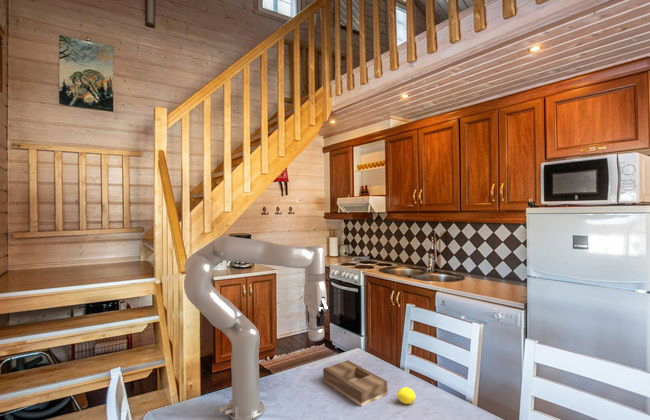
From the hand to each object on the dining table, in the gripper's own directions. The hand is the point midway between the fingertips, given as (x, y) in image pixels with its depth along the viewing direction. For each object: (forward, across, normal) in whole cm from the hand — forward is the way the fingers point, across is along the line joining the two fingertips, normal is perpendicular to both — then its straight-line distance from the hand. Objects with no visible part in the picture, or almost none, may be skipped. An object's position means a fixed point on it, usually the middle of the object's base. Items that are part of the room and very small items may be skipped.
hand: (316, 323), depth 138 cm
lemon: (+27, +26, +22) cm, 43 cm away
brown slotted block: (+26, +6, +14) cm, 30 cm away
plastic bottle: (+7, 0, 0) cm, 7 cm away
